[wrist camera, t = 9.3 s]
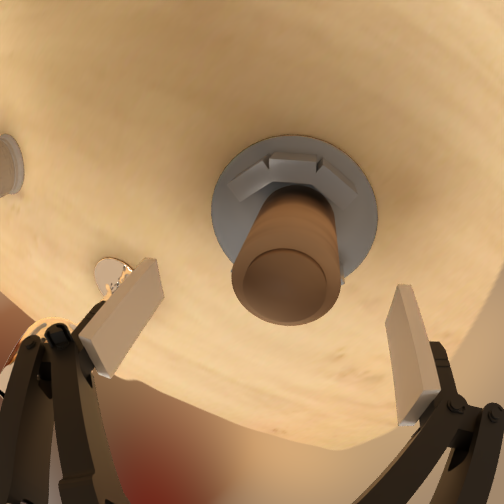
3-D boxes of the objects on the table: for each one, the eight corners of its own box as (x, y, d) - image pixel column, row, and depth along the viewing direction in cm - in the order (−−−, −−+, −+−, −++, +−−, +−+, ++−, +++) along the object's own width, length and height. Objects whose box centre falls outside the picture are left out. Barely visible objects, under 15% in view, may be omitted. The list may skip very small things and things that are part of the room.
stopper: (261, 181, 24) (228, 232, 15) (339, 190, 23) (351, 247, 14) (258, 250, 27) (229, 323, 18) (329, 258, 26) (329, 337, 18)
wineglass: (100, 244, 32) (-23, 362, 15) (154, 280, 32) (47, 426, 15) (91, 287, 36) (-5, 395, 19) (138, 320, 36) (54, 444, 19)
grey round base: (210, 133, 23) (193, 139, 20) (385, 144, 21) (396, 152, 18) (219, 277, 30) (207, 299, 27) (361, 293, 28) (364, 317, 25)
